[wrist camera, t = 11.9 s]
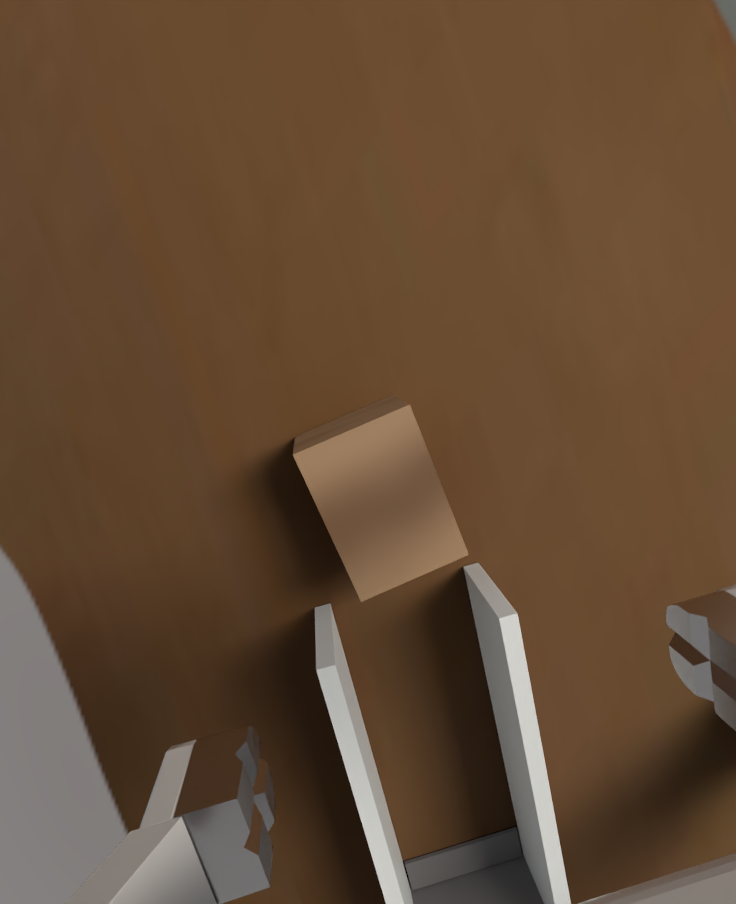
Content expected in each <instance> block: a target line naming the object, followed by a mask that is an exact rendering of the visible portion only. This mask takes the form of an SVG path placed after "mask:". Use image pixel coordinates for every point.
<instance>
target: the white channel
mask: <svg viewBox="0 0 736 904" xmlns="http://www.w3.org/2000/svg"><path fill="white" fill-rule="evenodd" d="M463 568H464V573H465V577H466V582H467V587H468V592H469V597H470V601H471V606H472V611H473V616H474V621H475V625H476V630H477V635H478V640H479V645H480V650H481V654H482V659H483V664H484V669H485V674H486V678H487V683H488V688H489V693H490V698H491V702H492V707H493V712H494V717H495V722H496V726H497V731H498V736H499V741H500V746H501V751H502V755H503V760H504V765H505V770H506V775H507V779H508V784H509V789H510V794H511V799H512V803H513V808H514V813H515V818H516V823H517V827H518V832H519V837H520V842H521V847H522V852H523V854H522V852H521V847H520V842H519V837H518V832H517V829H516V827H514V828H510V829H507V830H504V831H501V832H497V833H494V834H491V835H488V836H484V837H481V838H478V839H475V840H471V841H468V842H465V843H462V844H459V845H455V846H452V847H449V848H446V849H442V850H439V851H436V852H433V853H429V854H426V855H423V856H420V857H416V858H413V859H410V860H407V861H404V862H405V866H406V870H407V873H408V877H409V880H410V884H411V889H410V886H409V882H408V879H407V875H406V871H405V868H404V864H403V861H402V857H401V854H400V850H399V847H398V843H397V839H396V836H395V832H394V829H393V825H392V822H391V818H390V815H389V811H388V807H387V804H386V800H385V797H384V793H383V790H382V786H381V782H380V779H379V775H378V772H377V768H376V765H375V761H374V758H373V754H372V750H371V747H370V743H369V740H368V736H367V733H366V729H365V726H364V722H363V718H362V715H361V711H360V708H359V704H358V701H357V697H356V694H355V690H354V686H353V683H352V679H351V676H350V672H349V669H348V665H347V662H346V658H345V654H344V651H343V647H342V644H341V640H340V637H339V633H338V629H337V626H336V622H335V619H334V615H333V612H332V608H331V605H330V604H326V605H322V606H319V607H315V643H316V671H317V675H318V678H319V681H320V685H321V688H322V691H323V695H324V698H325V701H326V705H327V708H328V711H329V715H330V718H331V722H332V725H333V728H334V732H335V735H336V738H337V742H338V745H339V748H340V752H341V755H342V758H343V762H344V765H345V768H346V772H347V775H348V778H349V782H350V785H351V788H352V792H353V795H354V799H355V802H356V805H357V809H358V812H359V815H360V819H361V822H362V825H363V829H364V832H365V835H366V839H367V842H368V845H369V849H370V852H371V855H372V859H373V862H374V865H375V869H376V872H377V876H378V879H379V882H380V886H381V889H382V892H383V896H384V899H385V902H386V904H571V901H570V895H569V890H568V885H567V879H566V874H565V868H564V863H563V858H562V852H561V847H560V841H559V836H558V830H557V825H556V820H555V814H554V809H553V803H552V798H551V793H550V787H549V782H548V776H547V771H546V766H545V760H544V755H543V749H542V744H541V738H540V733H539V728H538V722H537V717H536V711H535V706H534V701H533V695H532V690H531V684H530V679H529V674H528V668H527V663H526V657H525V652H524V646H523V641H522V636H521V630H520V625H519V619H518V614H517V612H516V611H515V610H514V608H513V607H512V606H511V604H510V603H509V602H508V601H507V599H506V598H505V597H504V595H503V594H502V593H501V591H500V590H499V589H498V588H497V586H496V585H495V584H494V582H493V581H492V580H491V579H490V577H489V576H488V575H487V573H486V572H485V571H484V569H483V568H482V567H481V566H480V564H479V563H475V564H471V565H468V566H464V567H463Z"/></svg>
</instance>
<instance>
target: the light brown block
mask: <svg viewBox="0 0 736 904" xmlns="http://www.w3.org/2000/svg"><path fill="white" fill-rule="evenodd" d="M293 457H294V459H295V461H296V463H297V465H298V467H299V469H300V472H301V474H302V476H303V478H304V480H305V482H306V484H307V487H308V489H309V491H310V493H311V495H312V497H313V499H314V502H315V504H316V506H317V508H318V510H319V512H320V514H321V517H322V519H323V521H324V523H325V525H326V527H327V530H328V532H329V534H330V536H331V538H332V540H333V542H334V545H335V547H336V549H337V551H338V553H339V555H340V557H341V560H342V562H343V564H344V566H345V568H346V570H347V572H348V575H349V577H350V579H351V581H352V583H353V585H354V587H355V590H356V592H357V594H358V596H359V598H360V600H361V602H362V601H364V600H367V599H369V598H371V597H374V596H376V595H378V594H380V593H383V592H385V591H387V590H390V589H392V588H394V587H396V586H399V585H401V584H403V583H405V582H408V581H410V580H412V579H415V578H417V577H419V576H421V575H424V574H426V573H428V572H431V571H433V570H435V569H437V568H440V567H442V566H444V565H447V564H449V563H451V562H453V561H456V560H458V559H460V558H463V557H465V556H467V555H469V554H468V551H467V549H466V546H465V544H464V541H463V539H462V536H461V534H460V531H459V529H458V526H457V523H456V521H455V518H454V516H453V513H452V511H451V508H450V506H449V503H448V501H447V498H446V495H445V493H444V490H443V488H442V485H441V483H440V480H439V478H438V475H437V473H436V470H435V467H434V465H433V462H432V460H431V457H430V455H429V452H428V450H427V447H426V445H425V442H424V440H423V437H422V434H421V432H420V429H419V427H418V424H417V422H416V419H415V417H414V414H413V412H412V409H411V406H410V404H408V403H407V402H405V401H403V400H402V399H400V398H399V397H397V396H395V395H392V396H389V397H387V398H385V399H382V400H380V401H378V402H375V403H373V404H371V405H368V406H366V407H364V408H361V409H359V410H357V411H354V412H352V413H350V414H347V415H345V416H343V417H341V418H338V419H336V420H334V421H331V422H329V423H327V424H324V425H322V426H320V427H317V428H315V429H313V430H310V431H308V432H306V433H303V434H301V435H299V436H296V437H295V442H294V449H293Z"/></svg>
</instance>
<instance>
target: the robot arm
mask: <svg viewBox="0 0 736 904" xmlns="http://www.w3.org/2000/svg"><path fill="white" fill-rule="evenodd" d="M666 620H667V625H668V626H669V627H670V628H671V629H672V630H673V631H674V632H675V634H674V636H673V638H672V640H671V642H670V644H669V649H670V656H671V661H672V663H673V665H674V667H675V670H676V672H677V674H678V676H679V677H680V678H681V680H682V681H683V682H684V684H685V685H686V686H687V687H688V688H689V689H690V690H691V691H692V692H693V693H694V694H695V695H697V696H700V697H702V698H705V699H708V700H711V701H713V702H714V707H715V713H716V714H717V715H718V716H719V717H720V718H722V719H723V720H724V721H725V722H726V723H727V724H728V725H729V726H730V727H732V728H733V729H734V730H735V731H736V585H733V586H730V587H726V588H723V589H720V590H717V591H716V592H713V593H710V594H706V595H703V596H700V597H696V598H693V599H689V600H686V601H682V602H679V603H676V604H672V605H669V606H668V608H667V611H666ZM259 751H260V740H259V737H258V735H257V732H256V729H255V728H254V727H253V726H252V725H249V726H245V727H241V728H237V729H234V730H230V731H226V732H222V733H218V734H214V735H211V736H207V737H203V738H199V739H198V740H193V741H189V742H185V743H182V744H178V745H174V746H171V747H170V748H169V749H168V750H167V751H166V753H165V756H164V759H163V761H162V764H161V767H160V770H159V773H158V776H157V779H156V782H155V784H154V787H153V790H152V793H151V796H150V799H149V802H148V805H147V807H146V810H145V813H144V816H143V819H142V822H141V825H140V828H139V829H137V830H134V831H130V832H129V833H128V835H127V836H126V837H125V838H124V839H123V840H122V841H121V842H120V843H119V845H118V846H117V847H116V848H115V849H114V850H113V851H112V852H111V853H110V855H109V856H108V857H107V858H106V859H105V860H104V861H103V862H102V863H101V864H100V866H99V867H98V868H97V869H96V870H95V871H94V872H93V873H92V874H91V875H90V877H89V878H88V879H87V880H86V881H85V882H84V883H83V884H82V885H81V886H80V888H79V889H78V890H77V891H76V892H75V893H74V894H73V895H72V896H71V898H70V899H69V900H68V901H67V902H66V903H65V904H222V903H225V902H228V901H231V900H234V899H236V898H239V897H242V896H245V895H248V894H251V893H254V892H257V891H260V890H263V889H266V888H269V887H270V878H271V865H272V851H273V845H272V843H271V840H270V837H269V834H268V831H269V829H270V828H271V826H272V825H273V823H274V822H275V795H274V785H273V781H272V776H271V772H270V769H269V766H268V763H267V762H266V761H265V760H263V759H262V758H260V757H259ZM578 904H736V853H734V854H731V855H727V856H724V857H721V858H718V859H715V860H712V861H709V862H706V863H703V864H699V865H696V866H693V867H690V868H687V869H684V870H681V871H678V872H674V873H671V874H668V875H665V876H662V877H659V878H656V879H653V880H650V881H646V882H643V883H640V884H637V885H634V886H631V887H628V888H625V889H621V890H618V891H615V892H612V893H609V894H606V895H603V896H600V897H597V898H593V899H590V900H587V901H584V902H581V903H578Z"/></svg>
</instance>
